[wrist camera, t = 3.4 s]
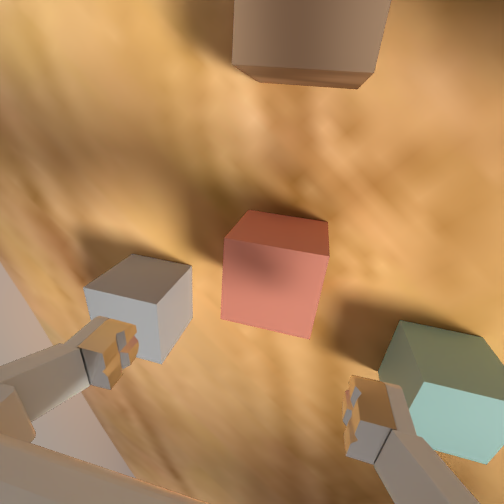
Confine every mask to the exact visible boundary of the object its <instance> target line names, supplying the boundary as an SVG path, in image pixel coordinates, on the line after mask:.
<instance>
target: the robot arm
mask: <svg viewBox="0 0 504 504" xmlns="http://www.w3.org/2000/svg"><path fill="white" fill-rule="evenodd" d="M136 333H137V329H136V325H133V324H130V323H126V322H123V321H119V320H115V319H111V318H107V317H103V316H97V317H95V318H94V319H92V320H91V321H90V322H89V323H88V324H87V325H85V326H84V327H83V328H82V329H81V330H80V331H78V332H77V333H76V334H75V335H74V336H73V337H71V338H70V339H69V340H68V341H67V342H65V343H64V344H57V345H54V346H52V347H49V348H47V349H44V350H41V351H39V352H36V353H34V354H31V355H28V356H26V357H23V358H21V359H18V360H15V361H13V362H10V363H8V364H5V365H2V366H0V504H209V503H207V502H204V501H201V500H198V499H195V498H192V497H189V496H186V495H183V494H180V493H177V492H174V491H171V490H168V489H165V488H162V487H159V486H156V485H153V484H150V483H147V482H144V481H141V480H138V479H135V478H133V477H129V476H127V475H124V474H121V473H118V472H115V471H112V470H109V469H106V468H103V467H100V466H97V465H94V464H91V463H88V462H85V461H82V460H79V459H76V458H73V457H70V456H67V455H64V454H61V453H58V452H55V451H52V450H49V449H47V448H44V447H41V446H38V445H35V444H31V442H32V440H33V439H34V438H35V436H36V432H35V430H34V428H33V426H32V424H31V422H32V421H34V420H36V419H37V418H39V417H40V416H42V415H43V414H45V413H47V412H48V411H50V410H52V409H53V408H55V407H57V406H58V405H60V404H61V403H63V402H65V401H66V400H68V399H70V398H71V397H73V396H74V395H76V394H77V393H79V392H81V391H83V390H84V389H86V388H87V387H89V386H90V385H93V386H97V387H101V388H105V389H109V390H111V389H112V388H113V386H114V385H115V384H116V383H117V381H118V380H119V379H120V378H121V376H122V375H123V369H124V368H126V367H128V366H130V365H131V364H132V362H133V361H134V360H135V358H136V355H137V353H138V349H139V342H138V340H137V338H136V337H135V336H134V335H135V334H136ZM342 418H343V422H344V423H345V425H346V426H347V427H346V429H345V432H344V443H345V455H346V456H347V457H350V458H354V459H357V460H360V461H363V462H366V463H370V464H373V465H374V468H375V470H376V472H377V473H378V475H379V477H380V479H381V480H382V482H383V484H384V486H385V488H386V489H387V491H388V493H389V495H390V496H391V498H392V500H393V502H394V503H395V504H480V503H479V502H478V500H477V499H476V498H475V497H474V496H473V495H472V494H471V492H470V491H469V490H468V489H467V488H466V487H465V486H464V484H463V483H462V482H461V481H460V480H459V479H458V478H457V476H456V475H455V474H454V473H453V472H452V471H451V470H450V468H449V467H448V466H447V465H446V464H445V463H444V461H443V460H442V459H441V458H440V457H439V456H438V455H437V453H436V452H435V451H434V450H433V449H432V448H431V447H430V445H429V444H428V443H427V442H426V441H425V440H424V439H423V437H420V436H417V434H416V431H415V428H414V424H413V421H412V418H411V415H410V412H409V409H408V406H407V403H406V399H405V396H404V393H403V390H402V388H401V387H400V386H399V385H395V384H390V383H386V382H382V381H377V380H373V379H368V378H364V377H359V376H355V375H352V376H351V377H350V380H349V390H347V391H345V394H344V398H343V404H342Z"/></svg>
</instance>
